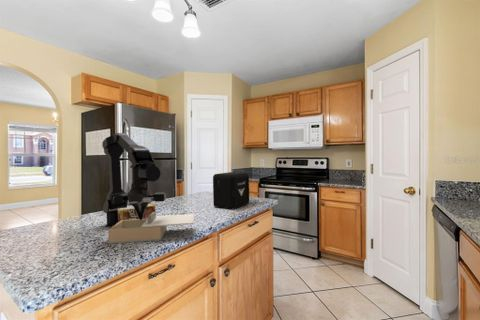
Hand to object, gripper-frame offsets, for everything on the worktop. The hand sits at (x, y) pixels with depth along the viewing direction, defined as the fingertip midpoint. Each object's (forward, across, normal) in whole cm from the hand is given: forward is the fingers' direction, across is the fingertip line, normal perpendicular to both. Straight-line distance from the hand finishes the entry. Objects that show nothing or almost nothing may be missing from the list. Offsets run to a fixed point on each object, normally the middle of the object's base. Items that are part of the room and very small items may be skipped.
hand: (141, 219), depth 92 cm
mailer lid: (+1, +11, 0) cm, 11 cm away
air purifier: (+7, +42, +46) cm, 63 cm away
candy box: (+2, +2, +16) cm, 17 cm away
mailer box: (+6, 0, 0) cm, 6 cm away
